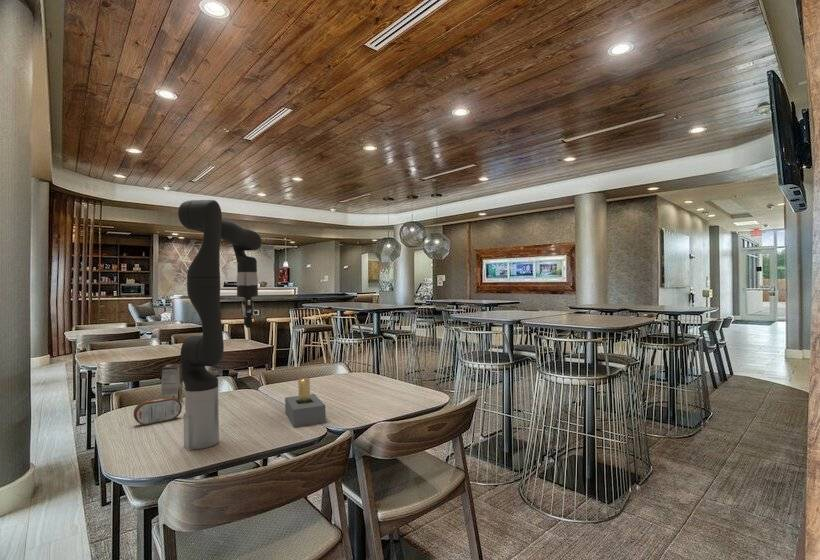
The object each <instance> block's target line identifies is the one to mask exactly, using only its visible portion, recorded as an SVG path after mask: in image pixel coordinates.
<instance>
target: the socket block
mask: <svg viewBox="0 0 820 560" xmlns="http://www.w3.org/2000/svg"><path fill="white" fill-rule="evenodd" d="M284 409H285V410H284V412H285V413H284V414H285V416H286V417H287V419H288V420H289V421H290V425H292V427H293V428H298V427H305V426H312V425H317V424H323V423H326V420H327V418H326V415H327V414H326V404H325V403H324V402H323V401H322V400H321V399H320V398H319V397H318V396H317V395H316V393H310V403H303V404H299V395H295V396H288V397H284Z"/></svg>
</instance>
